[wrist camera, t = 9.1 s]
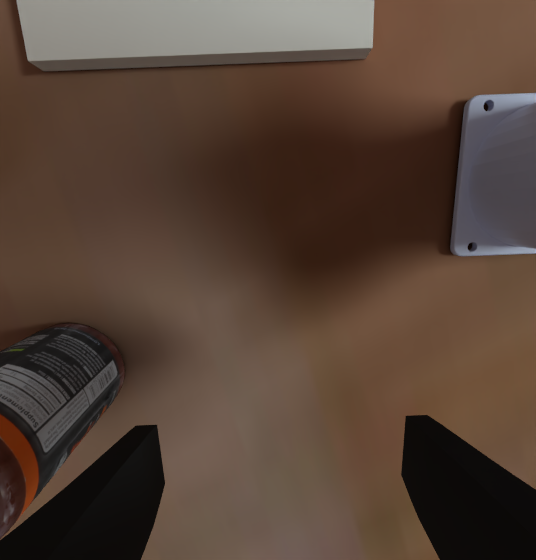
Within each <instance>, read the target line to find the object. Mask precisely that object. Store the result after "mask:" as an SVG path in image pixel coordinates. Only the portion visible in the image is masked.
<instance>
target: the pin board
mask: <svg viewBox="0 0 536 560" xmlns="http://www.w3.org/2000/svg"><path fill="white" fill-rule="evenodd" d="M16 1H17V6H18V11H19V17H20V22H21V27H22V33H23V38H24V43H25V48H26V54H27V59H28V62H30V63H32V64H33V65H35V66H36V67H38V68H39V69H41V70H42V71H66V70H92V69H118V68H143V67H169V66H195V65H221V64H247V63H273V62H298V61H324V60H350V59H366V57H367V56H368V54H369V52H370V51H371V49H372V47H373V20H374V0H16Z"/></svg>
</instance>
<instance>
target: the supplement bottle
mask: <svg viewBox="0 0 536 560" xmlns="http://www.w3.org/2000/svg"><path fill="white" fill-rule="evenodd" d="M124 378H125V369H124V364H123V360H122V357H121V354H120V353H119V350H118V349H117V347H116V346H115V344H114V343H113V342H112V341H111V340H109V338H108V337H107V336H105V335H104V334H102V333H101V332H99V331H97V330H96V329H93V328H91V327H89V326H85V325H82V324H73V323H64V324H58V325H54V326H51V327H49V328H46V329H44V330H42V331H39V332H37V333H35V334H33V335H31V336H29V337H27V338H25V339H23V340H22V341H20V342H18V343H16V344H14V345H12V346H10V347H8V348H6V349H4V350H2V351H0V538H1V537H2V536H3V535H4V534H5V533H7V532H8V531H9V529H10V528H11V527H12V526H13V525H14V523H15V522H16V521H17V520H18V519H19V517H20V516H21V515H22V514H23V512H24V511H25V510H26V509H27V507H28V506H29V505H30V504H31V502H32V501H33V500H34V499H35V498H36V497H37V496H38V494H39V493H40V492H41V491H42V489H43V488H44V487H45V486H46V484H47V483H48V482H49V481H50V479H51V478H52V477H53V476H54V474H55V473H56V472H57V471H58V469H59V468H60V467H61V466H62V464H63V463H64V462H65V461H66V459H67V458H68V456H69V455H70V454H71V453H72V451H73V450H74V449H75V448H76V447H77V445H78V444H79V443H80V442H81V440H82V439H83V438H84V437H85V435H86V434H87V433H88V432H89V430H90V429H91V428H92V427H93V426H94V424H95V423H96V422H97V420H98V419H99V418H100V417H101V416H102V414H103V413H104V412H105V411H106V410H107V409H108V407H109V406H110V405H111V403H112V402H113V401H114V399H115V397H116V396H117V395H118V393H119V391H120V389H121V387H122V384H123V380H124Z"/></svg>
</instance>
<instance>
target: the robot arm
mask: <svg viewBox="0 0 536 560" xmlns="http://www.w3.org/2000/svg"><path fill="white" fill-rule="evenodd" d="M484 103H486V104H487V105H488V110H487V111H485V110H484V107H483V105H484ZM470 243H472V248H471V249H470V250H468V245H469V244H470ZM450 250H451V252H452V253H453V254H454V255H457V256H482V255H509V254H536V93H521V94H495V95H478V96H475V97H473V98H471V99H470V100H468V101H467V103H466V104H465V107H464V113H463V123H462V133H461V144H460V154H459V164H458V174H457V184H456V194H455V204H454V214H453V224H452V234H451V244H450ZM401 475H402V478H403V480H404V483H405V486H406V488H407V491H408V493H409V496H410V499H411V501H412V503H413V506H414V508H415V511H416V513H417V516H418V518H419V520H420V522H421V524H422V526H423V528H424V530H425V532H426V534H427V535H428V537H429V539H430V541H431V543H432V545H433V547H434V549H435V551H436V553H437V555H438V557H439V559H440V560H536V490H535V489H534V488H532V487H531V486H529V485H528V484H526V483H525V482H523V481H522V480H520V479H519V478H517V477H516V476H514V475H513V474H511V473H510V472H508V471H507V470H506V469H504V468H503V467H501V466H500V465H498V464H497V463H495V462H494V461H492V460H491V459H490V458H488V457H487V456H485V455H484V454H482V453H481V452H480V451H478V450H477V449H475V448H474V447H473V446H471V445H470V444H468V443H467V442H465V441H464V440H463V439H461V438H460V437H458V436H457V435H456V434H454V433H453V432H451V431H450V430H448V429H447V428H446V427H444V426H443V425H441V424H440V423H438V422H437V421H435V420H434V419H432V418H431V417H429V416H428V415H416V416H406V421H405V434H404V447H403V460H402V474H401ZM164 485H165V480H164V473H163V465H162V458H161V451H160V444H159V436H158V429H157V425H141V426H135V427H134V428H133V429H131V430H130V431H129V432H128V433H127V434H126V435H124V436H123V437H122V438H121V439H120V440H119V441H118V442H117V443H115V444H114V445H113V446H112V447H111V448H110V449H109V450H108V451H106V452H105V453H104V454H103V455H102V456H101V457H100V458H99V459H97V460H96V461H95V462H94V463H93V464H92V465H91V466H90V467H88V468H87V469H86V470H85V471H84V472H83V473H82V474H80V475H79V476H78V477H77V478H76V479H75V480H74V481H72V482H71V483H70V484H69V485H68V486H67V487H65V488H64V489H63V490H62V491H61V492H59V493H58V494H57V495H56V496H55V497H53V498H52V499H51V500H50V501H49V502H47V503H46V504H45V505H44V506H42V507H41V508H40V509H39V510H38V511H36V512H35V513H34V514H33V515H31V516H30V517H29V518H28V519H27V520H25V521H24V522H23V523H22V524H21V525H19V526H18V527H17V528H16V529H14V530H13V531H12V532H10V533H9V534H8V535H7V536H5V537H4V538H3V539H2V540H0V560H141V558H142V555H143V552H144V550H145V547H146V544H147V542H148V539H149V536H150V534H151V531H152V528H153V526H154V522H155V519H156V515H157V512H158V508H159V504H160V501H161V497H162V493H163V489H164Z"/></svg>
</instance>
